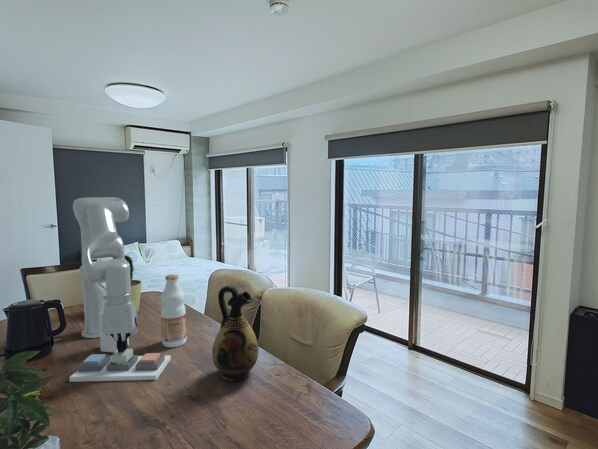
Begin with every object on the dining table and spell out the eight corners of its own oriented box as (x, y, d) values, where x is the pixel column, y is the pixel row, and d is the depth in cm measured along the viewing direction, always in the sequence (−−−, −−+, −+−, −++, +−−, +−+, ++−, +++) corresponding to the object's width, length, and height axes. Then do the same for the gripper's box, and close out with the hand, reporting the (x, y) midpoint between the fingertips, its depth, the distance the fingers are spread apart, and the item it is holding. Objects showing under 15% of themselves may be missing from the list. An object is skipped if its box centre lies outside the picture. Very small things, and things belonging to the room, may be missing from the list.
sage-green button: (118, 356, 122) (118, 349, 122) (133, 355, 123) (132, 348, 122) (111, 363, 117) (111, 355, 117) (126, 362, 118) (126, 355, 117)
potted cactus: (114, 307, 185) (111, 252, 182) (145, 305, 188) (142, 250, 186) (105, 317, 170) (102, 257, 167) (139, 315, 174) (136, 256, 171)
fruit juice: (157, 345, 139) (154, 277, 137) (174, 336, 148) (171, 272, 145) (174, 349, 135) (171, 279, 133) (191, 340, 144) (189, 274, 141)
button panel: (93, 360, 127) (92, 351, 127) (170, 359, 128) (170, 350, 128) (69, 381, 113) (68, 371, 113) (156, 379, 114) (155, 369, 114)
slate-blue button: (91, 361, 122) (91, 354, 122) (106, 360, 122) (105, 354, 122) (83, 368, 117) (82, 361, 117) (98, 368, 117) (98, 361, 117)
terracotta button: (146, 360, 123) (145, 353, 123) (160, 359, 123) (160, 353, 123) (140, 367, 118) (139, 360, 118) (155, 366, 118) (154, 359, 118)
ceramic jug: (266, 366, 122) (265, 283, 119) (245, 390, 108) (243, 296, 105) (224, 359, 128) (222, 279, 125) (199, 380, 113) (196, 291, 110)
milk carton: (116, 353, 133) (113, 305, 131) (100, 351, 134) (97, 303, 132) (129, 345, 140) (126, 299, 138) (113, 343, 141) (111, 298, 139)
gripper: (90, 302, 114) (94, 356, 115) (136, 301, 114) (139, 355, 116) (102, 296, 121) (106, 346, 123) (146, 295, 122) (148, 345, 123)
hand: (122, 350), depth 119 cm, fingers closed
